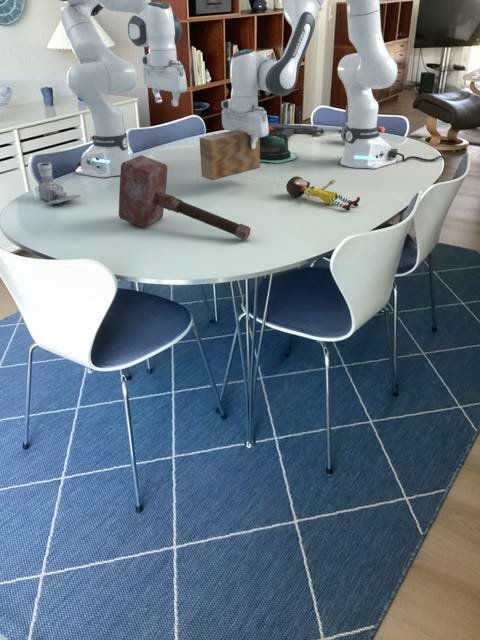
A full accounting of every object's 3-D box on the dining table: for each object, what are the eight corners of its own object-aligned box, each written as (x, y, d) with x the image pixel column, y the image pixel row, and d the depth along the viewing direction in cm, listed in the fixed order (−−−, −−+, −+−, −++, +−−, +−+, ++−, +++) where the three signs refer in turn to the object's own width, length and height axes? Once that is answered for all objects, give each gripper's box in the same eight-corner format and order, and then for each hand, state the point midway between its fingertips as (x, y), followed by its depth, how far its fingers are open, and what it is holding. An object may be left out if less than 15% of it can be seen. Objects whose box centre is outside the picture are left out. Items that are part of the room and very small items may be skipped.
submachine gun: (243, 132, 260) (267, 122, 278) (243, 138, 261) (267, 127, 280) (305, 138, 246) (326, 127, 265) (305, 144, 248) (326, 133, 266)
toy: (345, 120, 249) (377, 123, 242) (343, 139, 253) (375, 143, 246) (337, 123, 243) (369, 127, 236) (336, 143, 247) (367, 147, 240)
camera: (50, 159, 186) (76, 167, 177) (57, 193, 192) (81, 203, 184) (27, 164, 181) (51, 173, 172) (34, 199, 187) (58, 209, 178)
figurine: (345, 200, 166) (278, 176, 178) (341, 223, 170) (275, 198, 182) (367, 189, 174) (301, 166, 186) (362, 211, 179) (298, 188, 191)
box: (212, 180, 183) (210, 140, 177) (201, 176, 187) (199, 137, 181) (260, 167, 195) (259, 129, 189) (248, 164, 199) (248, 127, 193)
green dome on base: (302, 149, 235) (294, 163, 219) (265, 168, 244) (254, 183, 227) (286, 117, 230) (276, 128, 213) (248, 137, 238) (236, 150, 222)
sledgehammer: (261, 199, 150) (139, 153, 161) (245, 210, 142) (119, 161, 154) (249, 254, 160) (136, 207, 171) (234, 267, 153) (116, 217, 164)
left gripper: (190, 60, 175) (192, 106, 182) (154, 56, 188) (158, 99, 195) (173, 62, 171) (177, 109, 178) (138, 58, 185) (142, 102, 192)
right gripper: (273, 106, 179) (272, 149, 186) (232, 99, 192) (233, 140, 199) (258, 109, 175) (259, 153, 183) (218, 101, 189) (219, 143, 196)
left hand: (166, 104), depth 187 cm, fingers open, 8 cm apart
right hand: (245, 146), depth 191 cm, fingers closed on box, 6 cm apart
